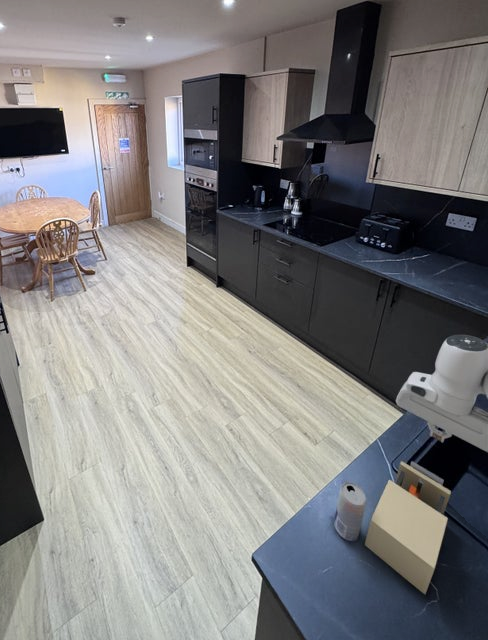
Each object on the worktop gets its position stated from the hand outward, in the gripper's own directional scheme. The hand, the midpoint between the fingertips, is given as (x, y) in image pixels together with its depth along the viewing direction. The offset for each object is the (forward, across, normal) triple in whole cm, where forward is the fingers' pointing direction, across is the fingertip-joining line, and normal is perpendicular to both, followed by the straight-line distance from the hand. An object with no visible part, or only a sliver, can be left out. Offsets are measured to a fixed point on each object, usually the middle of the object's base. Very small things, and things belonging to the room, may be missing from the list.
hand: (436, 437), depth 83 cm
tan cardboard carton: (+14, 0, +22) cm, 26 cm away
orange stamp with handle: (+8, 0, +12) cm, 15 cm away
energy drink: (+14, +10, +28) cm, 33 cm away
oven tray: (+13, 0, +11) cm, 17 cm away
